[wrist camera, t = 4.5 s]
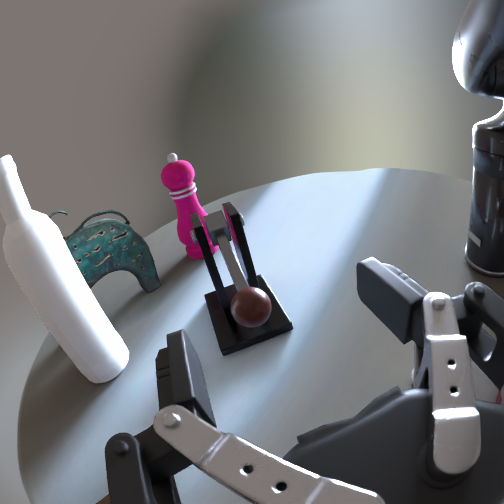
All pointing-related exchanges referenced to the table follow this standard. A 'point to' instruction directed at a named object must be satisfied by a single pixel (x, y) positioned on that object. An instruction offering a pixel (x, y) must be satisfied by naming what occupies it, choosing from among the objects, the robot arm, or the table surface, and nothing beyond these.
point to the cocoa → (499, 398)
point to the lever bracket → (220, 300)
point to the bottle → (56, 284)
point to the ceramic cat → (111, 251)
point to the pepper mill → (185, 202)
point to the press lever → (238, 277)
